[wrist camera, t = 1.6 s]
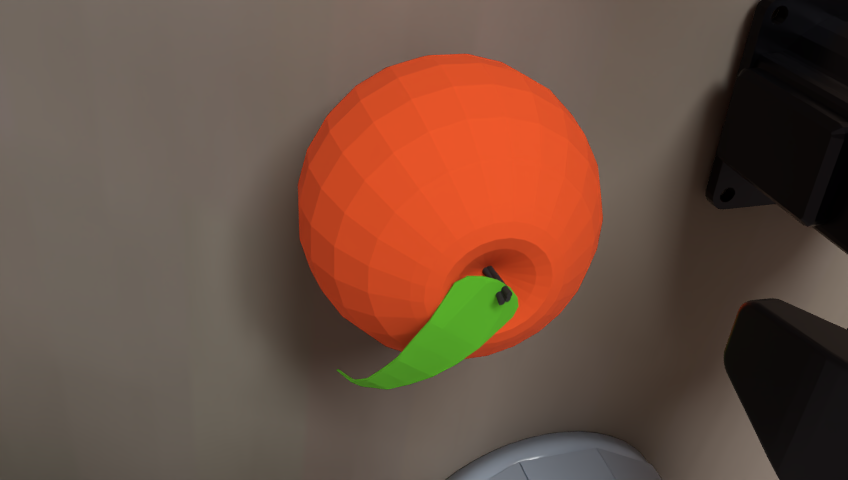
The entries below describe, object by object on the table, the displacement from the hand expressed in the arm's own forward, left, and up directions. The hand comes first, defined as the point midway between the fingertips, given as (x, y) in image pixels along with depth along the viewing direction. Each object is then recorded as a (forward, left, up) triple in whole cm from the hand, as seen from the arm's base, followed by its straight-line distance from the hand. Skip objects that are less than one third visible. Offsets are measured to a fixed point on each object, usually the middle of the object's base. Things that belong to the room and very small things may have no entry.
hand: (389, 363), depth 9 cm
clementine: (-3, +4, -12) cm, 13 cm away
